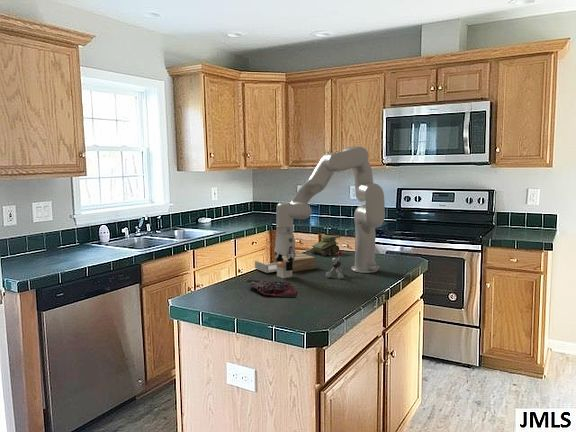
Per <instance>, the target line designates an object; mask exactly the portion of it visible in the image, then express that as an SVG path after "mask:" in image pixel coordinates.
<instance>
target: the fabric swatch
mask: <svg viewBox="0 0 576 432" xmlns="http://www.w3.org/2000/svg"><path fill="white" fill-rule="evenodd" d="M246 283H247V284H249V285H251V286H252V287H253V289H256V290H257V292H258V293H260V294H263V295H267V296H273V297H281V298H296V297H297V294H298V293H297V292H298V290H297V289H295V288H294V286H293V285H292V284H291V283H290V282H288V281H281V280H278V281H266V280H256V279H248V280H246Z"/></svg>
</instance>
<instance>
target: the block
mask: <svg viewBox="0 0 576 432" xmlns="http://www.w3.org/2000/svg"><path fill="white" fill-rule="evenodd" d="M276 276H277V277H278V278H282V279H286V278H292V277H293V272H292V270H290V271H286V267H278V266H277V271H276Z"/></svg>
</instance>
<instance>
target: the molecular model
mask: <svg viewBox="0 0 576 432" xmlns="http://www.w3.org/2000/svg"><path fill="white" fill-rule="evenodd" d="M336 255H337V256H338V258H337V257H333V258H332V259H331V261H332V263H333V264H332V266H333V267H332V268H331V269H330V271H327V272H326V273H325V277H326V278H327V279H329V278H331V277H332V273H333V271H334V270H335V269H336V270H335V271H336V274H337V278H338V279H339V280H341V279H343V278H344V274H343V273H342V272H343V269H341V266H342V262H341V261H340V260H341V258H342V257H343V255H344V254H343V252H342V251H341V250H339V252H338V253H337V254H336Z"/></svg>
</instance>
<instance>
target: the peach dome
mask: <svg viewBox="0 0 576 432" xmlns="http://www.w3.org/2000/svg"><path fill="white" fill-rule="evenodd" d="M286 262H287V260H282V261H277V266H278V267H286Z"/></svg>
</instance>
